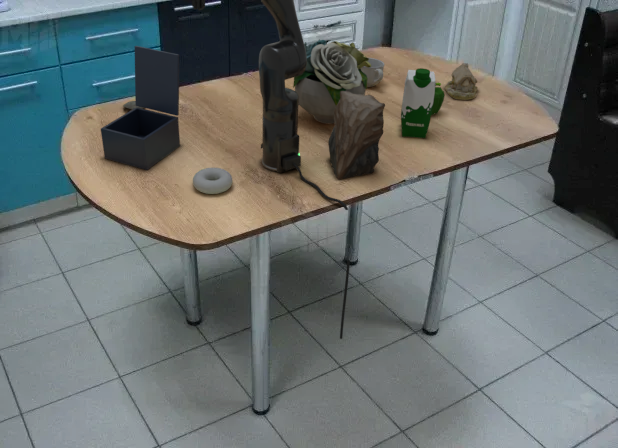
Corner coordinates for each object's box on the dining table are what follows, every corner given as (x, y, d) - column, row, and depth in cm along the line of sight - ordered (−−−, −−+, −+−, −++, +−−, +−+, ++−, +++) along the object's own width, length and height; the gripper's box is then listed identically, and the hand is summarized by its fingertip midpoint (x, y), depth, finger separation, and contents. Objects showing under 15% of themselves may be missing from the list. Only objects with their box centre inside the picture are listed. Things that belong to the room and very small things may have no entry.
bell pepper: (412, 115, 211) (416, 85, 205) (417, 105, 217) (421, 76, 212) (438, 119, 209) (443, 89, 203) (443, 109, 215) (448, 80, 210)
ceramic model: (442, 83, 234) (447, 55, 228) (474, 85, 234) (480, 57, 228) (448, 99, 222) (452, 70, 217) (481, 101, 222) (487, 72, 217)
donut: (231, 197, 166) (234, 176, 174) (231, 185, 164) (233, 165, 172) (190, 196, 165) (195, 175, 173) (189, 184, 163) (194, 164, 171)
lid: (177, 55, 174) (179, 54, 175) (134, 46, 178) (136, 45, 179) (177, 115, 181) (178, 115, 182) (135, 105, 186) (137, 105, 186)
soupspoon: (143, 105, 210) (122, 108, 208) (141, 95, 208) (120, 98, 206) (159, 132, 193) (136, 136, 191) (157, 121, 191) (134, 125, 189)
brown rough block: (326, 157, 185) (330, 88, 174) (370, 154, 187) (377, 87, 176) (335, 179, 175) (341, 108, 164) (382, 177, 177) (390, 107, 166)
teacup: (346, 79, 234) (348, 57, 229) (375, 76, 237) (377, 54, 232) (360, 94, 223) (362, 71, 218) (390, 92, 226) (393, 69, 221)
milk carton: (398, 137, 197) (407, 72, 186) (398, 124, 205) (406, 61, 193) (428, 140, 197) (439, 75, 185) (427, 127, 204) (437, 63, 193)
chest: (147, 170, 175) (144, 139, 170) (104, 158, 179) (100, 128, 174) (180, 146, 187) (178, 117, 182) (139, 135, 191) (136, 107, 186)
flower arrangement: (324, 144, 192) (329, 61, 178) (271, 113, 207) (272, 35, 194) (385, 123, 205) (394, 45, 192) (332, 95, 221) (337, 21, 207)
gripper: (167, -56, 183) (171, 8, 193) (209, -49, 179) (212, 16, 189) (182, -60, 189) (185, 2, 199) (224, -54, 185) (225, 9, 195)
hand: (198, 9), depth 194 cm, fingers closed
